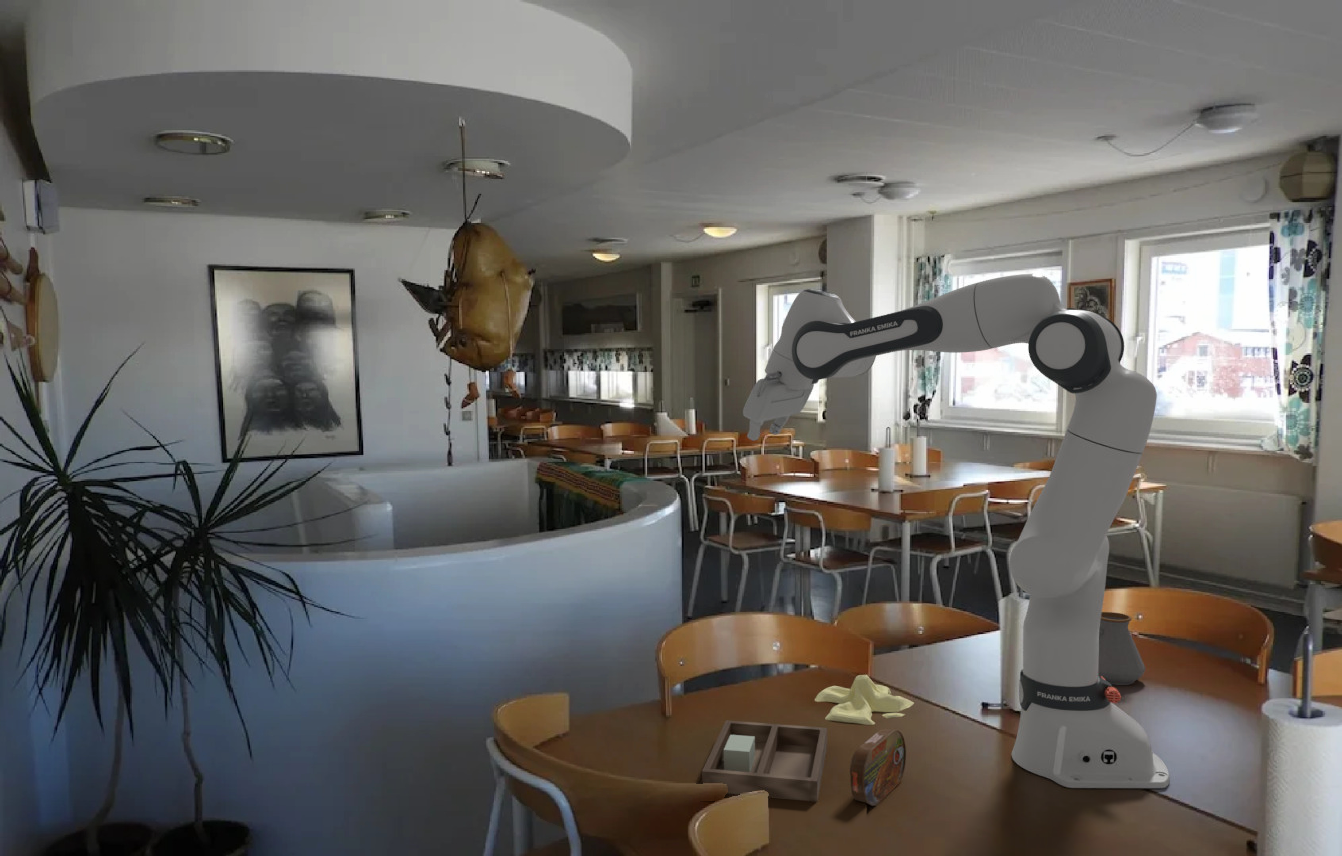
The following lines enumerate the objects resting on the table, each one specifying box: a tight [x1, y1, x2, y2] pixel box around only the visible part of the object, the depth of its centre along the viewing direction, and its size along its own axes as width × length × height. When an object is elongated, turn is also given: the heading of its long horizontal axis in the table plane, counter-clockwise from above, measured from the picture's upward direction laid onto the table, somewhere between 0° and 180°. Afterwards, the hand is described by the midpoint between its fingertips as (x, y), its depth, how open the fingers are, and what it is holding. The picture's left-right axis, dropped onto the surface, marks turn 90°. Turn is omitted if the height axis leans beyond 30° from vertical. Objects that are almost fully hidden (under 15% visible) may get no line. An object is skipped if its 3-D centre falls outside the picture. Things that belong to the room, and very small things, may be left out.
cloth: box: [814, 674, 915, 726], centre depth 171 cm, size 22×19×6 cm
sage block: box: [724, 735, 755, 772], centre depth 144 cm, size 4×6×4 cm, turn 166°
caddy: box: [701, 719, 828, 803], centre depth 143 cm, size 17×20×4 cm
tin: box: [849, 728, 907, 807], centre depth 136 cm, size 15×3×8 cm, turn 143°
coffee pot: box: [1098, 611, 1146, 686], centre depth 181 cm, size 21×12×15 cm, turn 105°
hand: (763, 436), depth 175 cm, fingers open, 8 cm apart
